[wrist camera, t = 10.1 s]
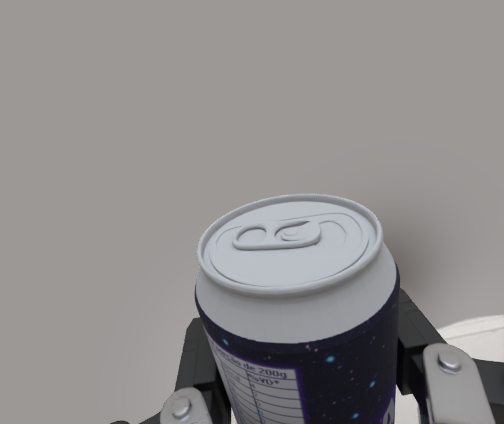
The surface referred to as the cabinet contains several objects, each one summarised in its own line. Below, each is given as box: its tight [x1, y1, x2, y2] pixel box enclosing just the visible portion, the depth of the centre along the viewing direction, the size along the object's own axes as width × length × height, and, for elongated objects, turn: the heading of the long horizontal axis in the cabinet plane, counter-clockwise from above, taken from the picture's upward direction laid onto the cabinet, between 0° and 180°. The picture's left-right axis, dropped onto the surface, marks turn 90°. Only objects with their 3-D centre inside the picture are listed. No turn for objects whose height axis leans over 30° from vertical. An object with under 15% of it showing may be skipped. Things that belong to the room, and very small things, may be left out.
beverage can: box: [195, 194, 400, 424], centre depth 10 cm, size 6×6×12 cm
